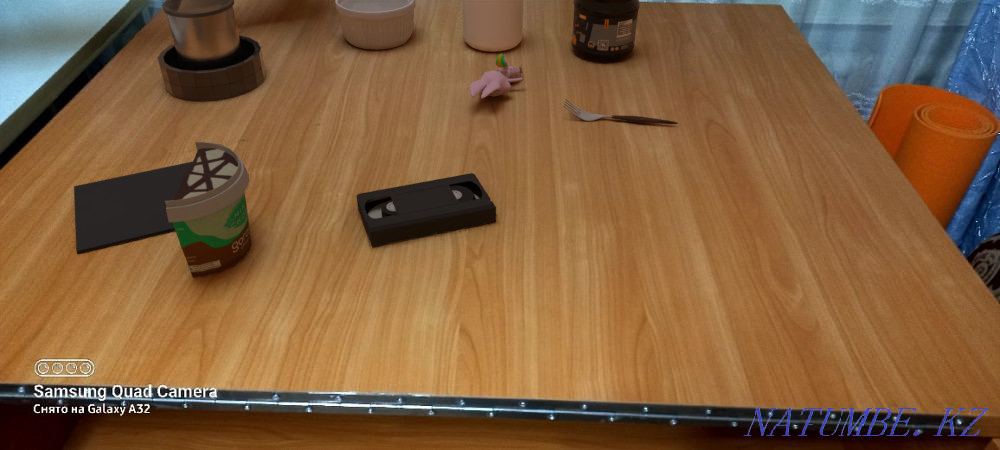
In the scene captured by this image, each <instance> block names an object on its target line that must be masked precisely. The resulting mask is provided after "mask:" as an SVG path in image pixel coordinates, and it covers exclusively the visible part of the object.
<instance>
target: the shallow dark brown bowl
mask: <svg viewBox="0 0 1000 450" xmlns="http://www.w3.org/2000/svg"><path fill="white" fill-rule="evenodd" d="M239 39H240V44H241V48H242V53H243V58H244V61H242V62H240V63H238V64H235V65H232V66H229V67H225V68H220V69H214V70H204V71H190V70H181V68H180V64H179V60H178V56H177V52H176V48H175V44H174V43H173V44H171V45H169V46H167V47H166V48H165V49H162V51H160V53H159V55H158V56H157V61H158V65H159V69H160V71H161V77H162V79H163V84H164V87H165V90H166V93H168V94H169V95H170V96H171V97H173V98H176V99H179V100H182V101H188V102H197V103H202V102H203V103H204V102H218V101H224V100H228V99H229V100H230V99H233V98H237V97H240V96H242V95H246V94H248V93H251V92H252V91H254V90H255V89H257V88H258V87H260V86H261V85H262V84H263V83H264V82H265V79H266V75H267V73H266V68H265V67H266V66H265V63H264V56H263V51H262V47H261V45H260V44H259V42H258V41H257V40H255V39H254V38H251V37H248V36H244V35H240V34H239Z"/></svg>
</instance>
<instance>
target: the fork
mask: <svg viewBox="0 0 1000 450" xmlns="http://www.w3.org/2000/svg"><path fill="white" fill-rule="evenodd" d="M564 100H565V101H564V103H563V108H564V109H565V110H567V111H568V112H570V113H571V114H572V115H574V116H576V117H577V118H579V119H581V120H582V121H585V122H593V121H597V120H600V119H603V118H607V119H614V120H620V121H625V122H630V123H636V124H637V123H639V124H658V125H659V124H660V125H661V124H662V125H678V124H679V122H677V121H673V120H669V119H668V120H667V119H660V118H654V117H647V116H640V115H616V114H615V115H614V114H612V115H611V114H610V115H609V114H598V113H594V112H590V111H587V110H584V109H582V108H580V107H578V106H577V105H575V104H574V103H572V102H571V101H570V100H568V99H567V98H565V99H564Z"/></svg>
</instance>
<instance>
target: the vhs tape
mask: <svg viewBox="0 0 1000 450" xmlns="http://www.w3.org/2000/svg"><path fill="white" fill-rule="evenodd" d="M356 203H357V205H356V206H357V210H358V213H359V215H360V219H361V221H362V224H363V227H364V229H365V232H366V235H367V238H368V241H369V243H370V246H371V248H374V247H379V246H384V245H389V244H394V243H399V242H403V241H404V242H405V241H410V240H413V239H419V238H425V237H428V236H433V235H435V234H437V235H439V234H442V233H443V234H444V233H449V232H453V231H457V230H462V229H467V228H468V229H469V228H472V227H477V226H482V225H487V224H492V223H497V206H496V205H495V203H494V202H493V200H491V197H490V196H489V195H488V193H487V190H486V189H485V188H484V187H483V185H482V183H481V182H480V180H479V178H477V176H476V174H475V173H471V172H470V173H465V174H458V175H454V176H448V177H443V178H438V179H432V180H426V181H421V182H415V183H409V184H404V185H399V186H394V187H388V188H382V189H377V190H372V191H366V192H360V193H357V194H356Z"/></svg>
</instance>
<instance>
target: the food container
mask: <svg viewBox="0 0 1000 450" xmlns="http://www.w3.org/2000/svg"><path fill="white" fill-rule="evenodd" d="M194 143H195V148H196V152H195V156H194V158H193V160H192V161H191V162H192V164H191V165H190V166H189V168H188V169H187V170H186V172H185V173H184V176H183V178H182V181H181V184H180V187H179V189H178V192H177V194H176V196H175V198H174V200H172V201H165V204H166V207H167V208H166V212H167V216H168V221H169V222H172V223H173V226H174V229H175V231H174V232H175V234H176V236H177V239H178V242H179V245H180V247H181V248H180V249H181V250H182V252H183V256H184V259H185V261H186V263H187V266H188V269H189V272H190V274H191V278H203V277H207V276H211V275H217V274H219V273H222V272H224V271H226V270H229V269H230V268H233V267H235V266H236V265H238V264H239V263H240V262H241V261H243V260H244V259H245V258H246V257H247V256H248V254H249V253H250V251H251V249H252V245H253V243H252V234H251V228H250V222H249V214H248V206H247V197H246V191H247V188H248V187H249V183H250V174H249V172H248V170H247V168H246V166H245V163H244V162H243V160H242V159H241V158H240V156H239V155H238V154H237V152H235V150H233V149H232V148H231V147H228V146H226V145H223V144H220V143H217V142H216V143H215V142H208V141H195V142H194Z"/></svg>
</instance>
